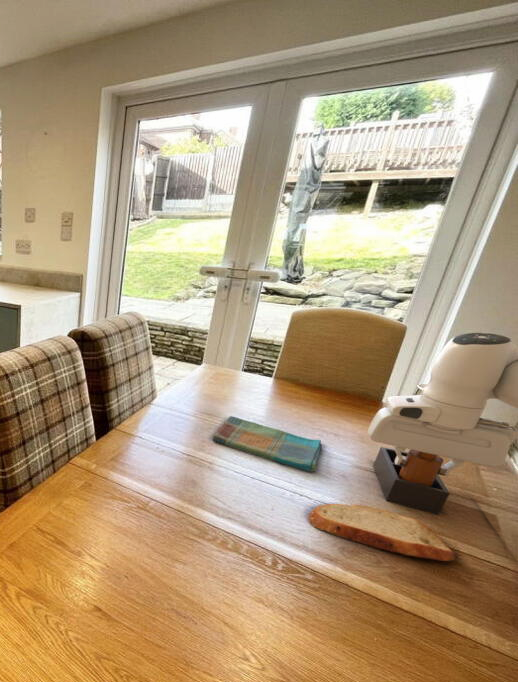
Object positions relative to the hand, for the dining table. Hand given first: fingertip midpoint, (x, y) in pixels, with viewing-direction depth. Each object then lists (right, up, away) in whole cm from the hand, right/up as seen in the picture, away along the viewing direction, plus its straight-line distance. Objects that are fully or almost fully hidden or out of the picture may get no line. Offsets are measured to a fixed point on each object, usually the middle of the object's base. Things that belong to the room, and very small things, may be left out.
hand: (419, 469), depth 85 cm
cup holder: (+2, -6, +6) cm, 8 cm away
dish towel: (-18, +1, +23) cm, 29 cm away
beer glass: (+27, +3, +28) cm, 38 cm away
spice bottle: (0, -6, +2) cm, 7 cm away
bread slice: (-17, -11, -8) cm, 22 cm away
